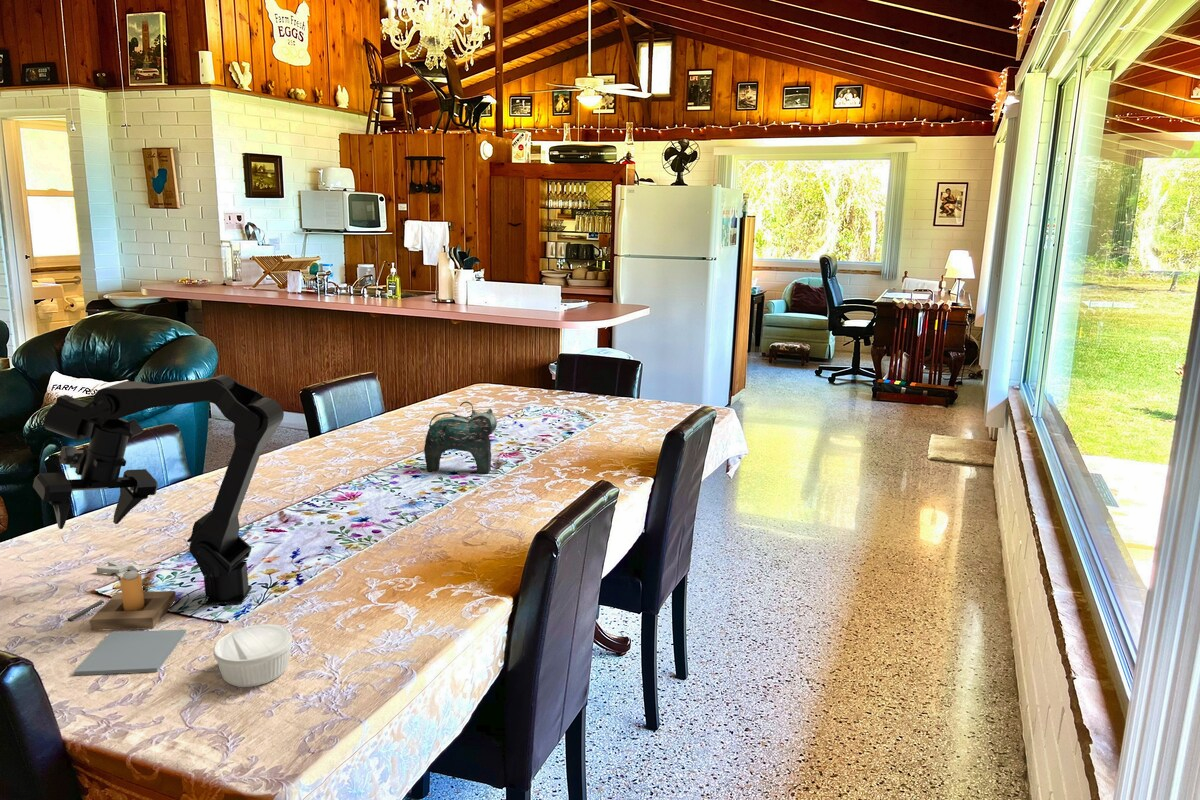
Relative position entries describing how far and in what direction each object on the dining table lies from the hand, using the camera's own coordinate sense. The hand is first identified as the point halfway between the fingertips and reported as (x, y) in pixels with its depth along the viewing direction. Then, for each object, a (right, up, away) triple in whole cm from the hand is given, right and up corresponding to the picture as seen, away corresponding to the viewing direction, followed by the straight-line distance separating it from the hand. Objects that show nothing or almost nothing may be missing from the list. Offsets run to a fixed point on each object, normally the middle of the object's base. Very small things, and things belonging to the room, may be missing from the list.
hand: (88, 525), depth 148 cm
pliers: (+3, -12, +10) cm, 16 cm away
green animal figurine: (+55, +3, +78) cm, 95 cm away
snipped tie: (+3, -15, -4) cm, 15 cm away
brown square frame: (+12, -15, -5) cm, 20 cm away
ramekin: (+40, -20, -21) cm, 49 cm away
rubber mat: (+18, -18, -17) cm, 31 cm away
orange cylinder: (+12, -15, -5) cm, 20 cm away
